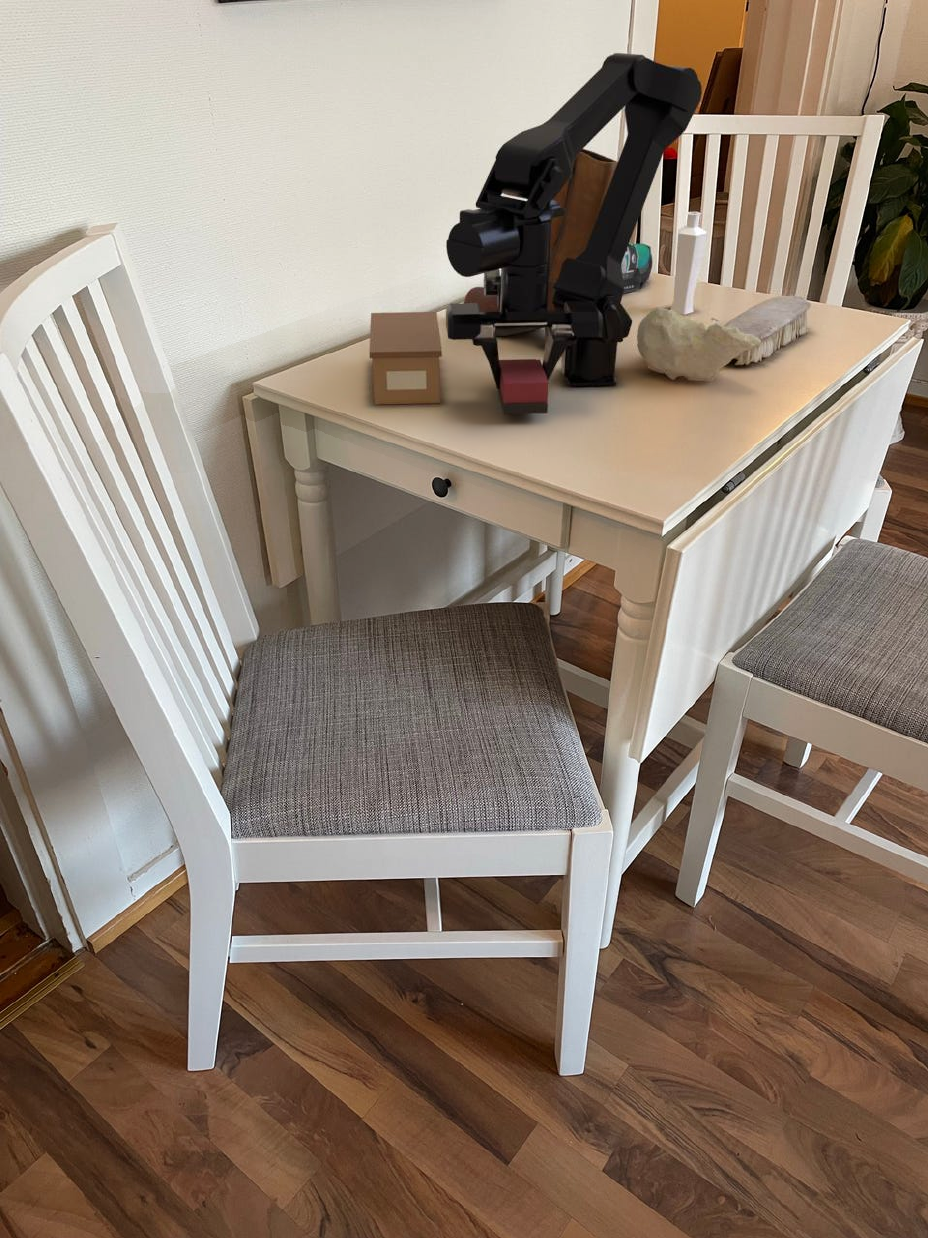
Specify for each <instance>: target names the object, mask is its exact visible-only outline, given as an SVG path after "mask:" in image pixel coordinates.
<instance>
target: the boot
mask: <svg viewBox="0 0 928 1238" xmlns="http://www.w3.org/2000/svg"><path fill="white" fill-rule="evenodd" d="M617 163H618V160H614V159H612V158H610V157H607V156H605V155H603V154H600V153H597V152H595V151H592V150H589V149H585V148H583V149H582V150H581V151H580V152H579V153H578V155H577V156H576V158H575V159H574V166H573V173H572V175H571V176H570V178H569V179H568V181H567V182H566V183H565V185H564V186H563V187H562V189H561V190H560V192H559V193H558V194H557V196H556V197H555V198H554V199H555V200H556V202H557V203H558V204H559V205H560V206H561V207H562V208H563V209H564V210H565V213H564V215H562V216H559V217H554V218H552V226H551V246H550V266H549V286H548V305H547V311H554V307H553V305H552V298H553V294H554V291H555V289H553V286H554V284H555V283H556V281H557V279H558V277H559V274H560V271H561V267H562V263H563V262H564V261H565V259H566V258H572V259H576V258H577V257H578V256H579V255H580V254H581V253H582V252H583V251H584V250H585V248H586V246H587V243H588V241H589V238H590V235H591V233H592V230H593V227H594V225H595V222H596V219H597V217H598V214H599V211H600V209H601V206H602V203H603V200H604V198H605V195H606V192H607V190H608V187H609V184H610V182H611V179H612V176H613V174H614V171H615V168H616V166H617ZM497 300H498V296H484V286H475V287H472V288H470V289H469V290H468V291H467V293H466V294H465V297H464V300H463V303H478V307H479V311H480V312H500V308H498V305H497ZM540 329H544V346H545V345H546V330H547V327H529V328H495V336H496V337H498V336H499V337H505V336H506V337H507V336H513V335H519V334H523V333H527V332H528V333H529V332H532V331H536V330H540Z"/></svg>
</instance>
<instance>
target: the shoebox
mask: <svg viewBox="0 0 928 1238" xmlns="http://www.w3.org/2000/svg"><path fill="white" fill-rule="evenodd" d="M369 332H370V333H369V359H371V360H372V361H371V362H372V378H373V379H372V381H373V399H374V401H373V402H374V405H415V404H418V405H419V404H440V403H441V391H440V390H441V384H440V383H441V381H440V380H441V378H440V376H441V375H440V374H441V373H440V358H442V357H443V351H442V343H441V335H440V328H439V321H438V314H437V311H411V312H410V311H409V312H406V311H404V312H402V311H401V312H399V311H398V312H371V313H370V331H369Z"/></svg>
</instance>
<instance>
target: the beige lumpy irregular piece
mask: <svg viewBox="0 0 928 1238" xmlns="http://www.w3.org/2000/svg"><path fill="white" fill-rule="evenodd" d="M710 321H712V322H713V321H716V322H715V323H714V324H707V323H705V322H702V321H698V320H695V319H692V318H690V317H688V316H685V315H683V314H678V313H676V312H674V311H671V310H670V309H666V308H663V307H656V308H653V309H652V310H651V311H649V312H648V313H647V314H646V315H645V316H644V317H643V318H642V319H641V321H640V322H639V324H638V327H637V331H636V332H637V334H636V338H637V344H636V346H637V350H638V353H639V354H640V356H641V357H642V358H643V360H644V362H645V363H646V365H647V368H648V369H649V370H652V371H654V372H656V373H659V374H665V376H667V377H668V378H669V379H670V380H672V381H674V380H675V379H677V377H682V376H683V377H685V379H686V378H687V380H688V381H694V382H699V381H706V382H708V383H710V382H712V381H713V380H715V378H716V377H717V376H718V374H719V373H720V371H721V369H722V368H724V367H725V366H727V365H728V364H730V363H731V362H732V360H733V359H734V358H735V357H737V356H738V355H739V354H740V353H741V352H743V351H745V350H750V349H752V348H755V347H757V346H758V345H759V344H760V343H761V340H760V339H759V338H757V337H755V336H753V335H751V334H744V333H741V332H740V331H739V330H738V328H737V327H733V328H729V327H725V326H724V325H723V324H721V323H720V321H721V320H720V319H716V318H714V317H711V318H710ZM730 361H731V362H730Z"/></svg>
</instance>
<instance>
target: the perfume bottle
mask: <svg viewBox="0 0 928 1238" xmlns="http://www.w3.org/2000/svg"><path fill="white" fill-rule="evenodd" d="M686 215H687V219H686V225H685V226H682V227H681V228H680V227H679V228H678V229H677V241H676V242H677V243H676V258H675V273H674V275H675V276H674V288H673V300H672V303H671V306H670V309H669V310H671V311H674V312H676V313H678V314H680V315H683V316H685V315H688V314H692V313H694V312H695V311H694V302H693V301H694V296H695V292H696V287H697V282H698V279H699V278H698V277H699V274H700V268H701V263H702V258H703V254H704V249H705V244H706V239H707V235H708V232H707V231H705V230H704V229H703V228H701V227H700V226H699V225H700V217H701V215H702V213H701V212H699V211H687V213H686Z"/></svg>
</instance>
